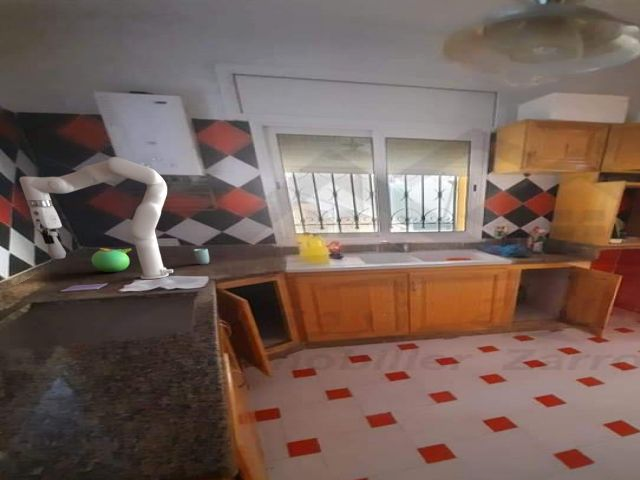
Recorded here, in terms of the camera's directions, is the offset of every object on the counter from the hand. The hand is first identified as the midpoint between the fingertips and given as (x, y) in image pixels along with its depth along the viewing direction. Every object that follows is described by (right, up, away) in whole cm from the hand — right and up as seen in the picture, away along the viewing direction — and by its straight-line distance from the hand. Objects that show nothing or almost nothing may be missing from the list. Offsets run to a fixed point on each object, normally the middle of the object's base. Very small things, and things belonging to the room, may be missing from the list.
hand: (53, 242), depth 155 cm
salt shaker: (0, -8, +2) cm, 8 cm away
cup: (+32, -5, +59) cm, 68 cm away
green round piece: (-6, -12, +37) cm, 40 cm away
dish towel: (+10, -22, +5) cm, 25 cm away
